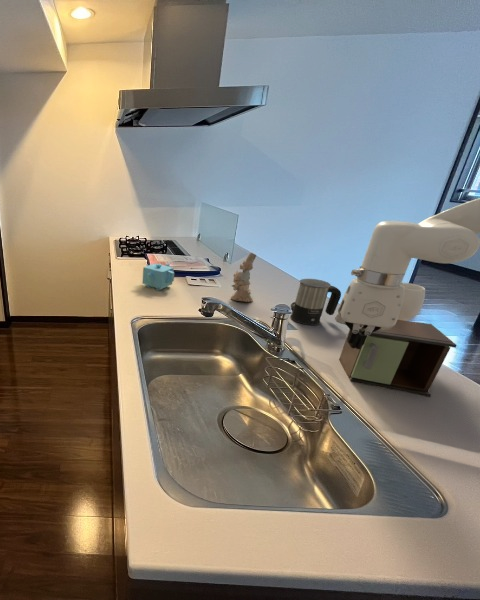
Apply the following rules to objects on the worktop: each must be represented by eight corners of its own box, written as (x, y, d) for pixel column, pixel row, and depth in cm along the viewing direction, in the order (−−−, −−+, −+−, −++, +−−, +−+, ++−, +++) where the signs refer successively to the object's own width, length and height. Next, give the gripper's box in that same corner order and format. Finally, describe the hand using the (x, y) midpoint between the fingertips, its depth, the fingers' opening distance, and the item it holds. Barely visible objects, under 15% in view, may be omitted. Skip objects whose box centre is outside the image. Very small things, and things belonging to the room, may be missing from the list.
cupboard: (409, 371, 88) (431, 323, 83) (430, 397, 79) (457, 345, 73) (338, 359, 95) (354, 314, 89) (350, 381, 85) (369, 332, 79)
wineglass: (405, 359, 94) (435, 293, 85) (367, 351, 98) (392, 288, 90) (398, 346, 100) (425, 284, 92) (363, 339, 105) (386, 279, 97)
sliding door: (388, 383, 82) (407, 340, 77) (395, 391, 79) (414, 348, 74) (350, 375, 85) (366, 334, 80) (355, 383, 82) (371, 341, 77)
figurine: (248, 296, 140) (257, 251, 132) (254, 303, 133) (264, 257, 125) (227, 295, 142) (234, 251, 134) (232, 302, 134) (240, 256, 126)
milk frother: (304, 326, 113) (315, 288, 108) (271, 309, 128) (279, 273, 122) (337, 322, 116) (349, 284, 110) (301, 305, 130) (310, 270, 124)
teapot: (133, 287, 153) (134, 264, 149) (155, 278, 164) (157, 257, 160) (161, 295, 143) (163, 271, 138) (182, 285, 154) (185, 263, 149)
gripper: (344, 278, 72) (321, 347, 79) (431, 286, 67) (398, 360, 74) (335, 268, 79) (315, 333, 86) (414, 275, 73) (385, 344, 80)
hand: (353, 345), depth 80 cm, fingers closed
